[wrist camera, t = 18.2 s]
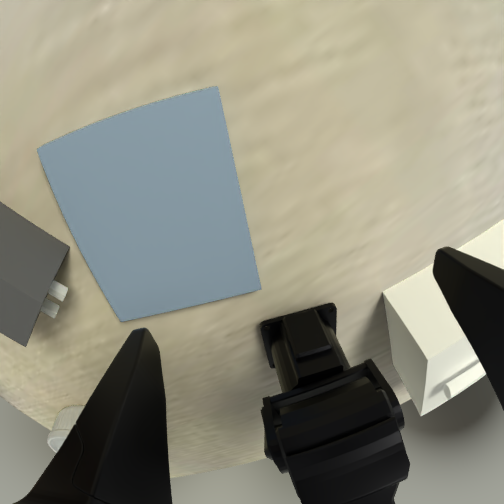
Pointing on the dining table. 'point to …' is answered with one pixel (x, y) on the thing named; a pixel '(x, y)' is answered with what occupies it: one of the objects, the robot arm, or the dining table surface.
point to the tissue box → (435, 331)
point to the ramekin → (63, 426)
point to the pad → (156, 205)
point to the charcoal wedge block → (27, 274)
